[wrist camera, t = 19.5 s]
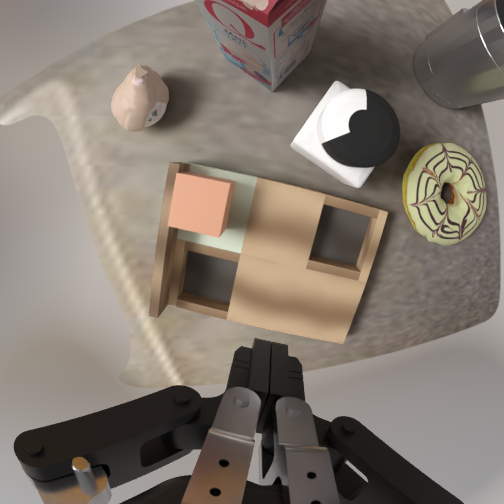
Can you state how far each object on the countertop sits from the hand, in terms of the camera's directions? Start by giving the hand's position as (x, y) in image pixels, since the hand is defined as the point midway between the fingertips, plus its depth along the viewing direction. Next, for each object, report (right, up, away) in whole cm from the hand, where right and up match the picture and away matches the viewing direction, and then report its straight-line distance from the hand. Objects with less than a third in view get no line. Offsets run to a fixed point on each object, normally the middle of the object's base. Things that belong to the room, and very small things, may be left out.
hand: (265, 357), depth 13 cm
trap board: (+1, +5, +22) cm, 22 cm away
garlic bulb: (-12, +22, +18) cm, 31 cm away
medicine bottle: (+8, +17, +18) cm, 26 cm away
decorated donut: (+21, +12, +18) cm, 31 cm away
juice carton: (+1, +26, +16) cm, 31 cm away
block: (-5, +10, +18) cm, 21 cm away
